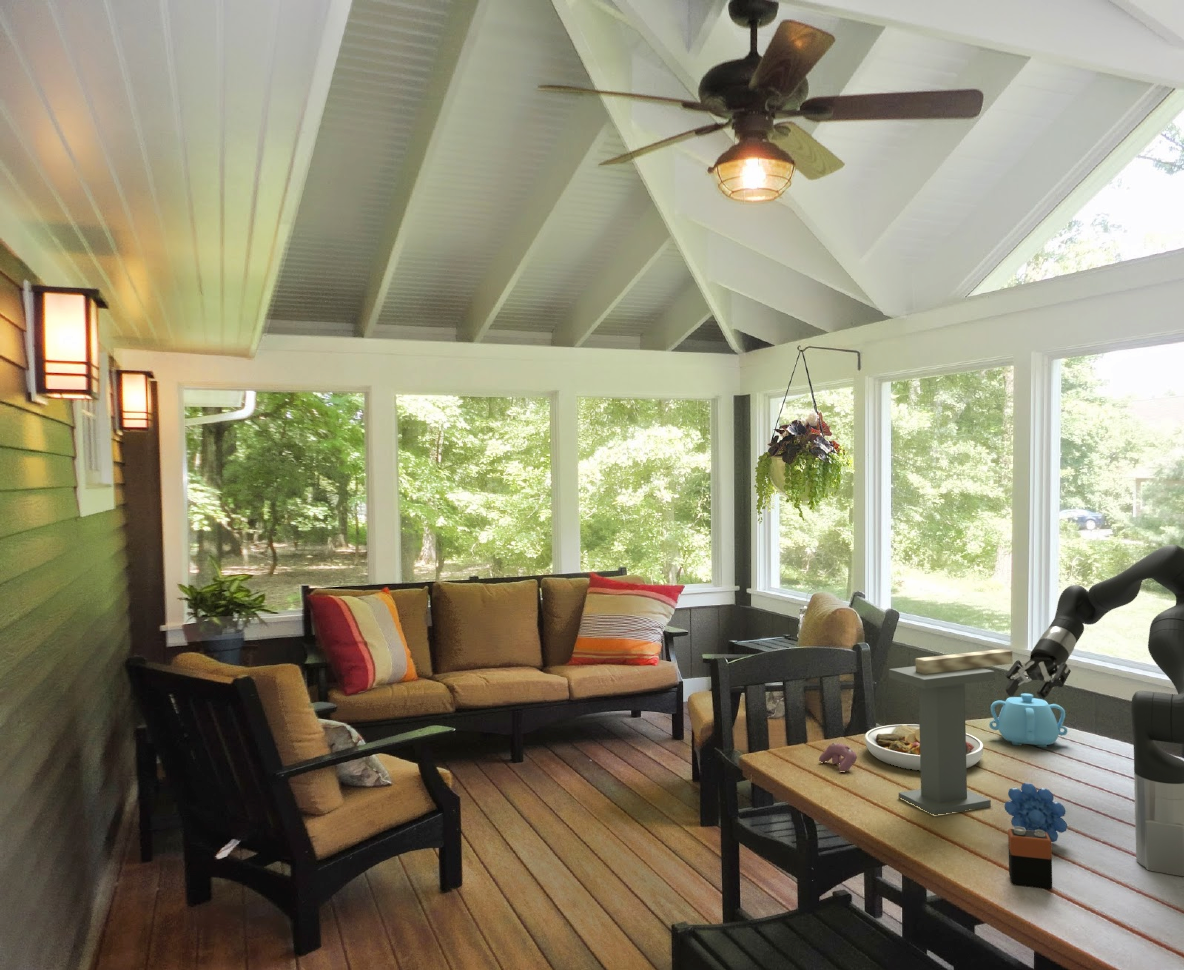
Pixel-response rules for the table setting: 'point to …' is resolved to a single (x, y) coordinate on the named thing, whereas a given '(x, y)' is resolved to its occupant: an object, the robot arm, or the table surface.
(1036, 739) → the decorative pot
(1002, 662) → the birch rod
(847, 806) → the table surface
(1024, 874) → the battery
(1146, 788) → the robot arm
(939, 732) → the plant stand
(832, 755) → the video game controller
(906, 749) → the bowl
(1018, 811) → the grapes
